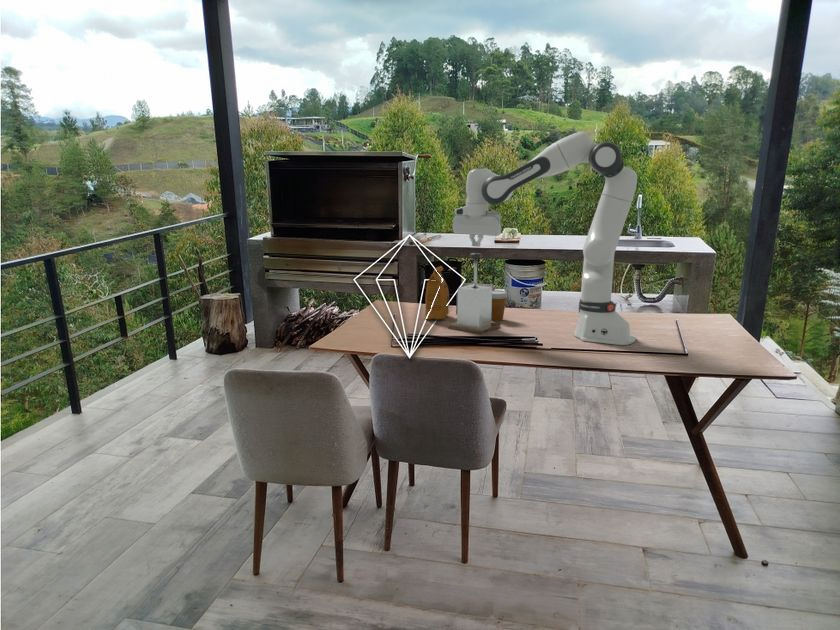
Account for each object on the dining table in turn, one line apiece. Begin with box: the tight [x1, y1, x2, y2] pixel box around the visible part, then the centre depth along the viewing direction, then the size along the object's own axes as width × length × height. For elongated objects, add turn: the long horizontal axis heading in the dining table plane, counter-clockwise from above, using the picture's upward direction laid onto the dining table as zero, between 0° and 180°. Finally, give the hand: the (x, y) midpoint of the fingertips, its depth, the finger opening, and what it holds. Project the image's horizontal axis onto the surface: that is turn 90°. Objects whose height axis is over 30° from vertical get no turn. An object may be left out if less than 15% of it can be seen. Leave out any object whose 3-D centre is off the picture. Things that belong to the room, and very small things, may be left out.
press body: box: [447, 284, 501, 335], centre depth 242 cm, size 16×14×16 cm
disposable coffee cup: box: [491, 289, 508, 322], centre depth 257 cm, size 10×10×12 cm
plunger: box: [469, 252, 482, 288], centre depth 240 cm, size 8×8×18 cm
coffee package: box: [424, 265, 450, 321], centre depth 259 cm, size 10×12×22 cm
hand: (476, 246), depth 237 cm, fingers closed
